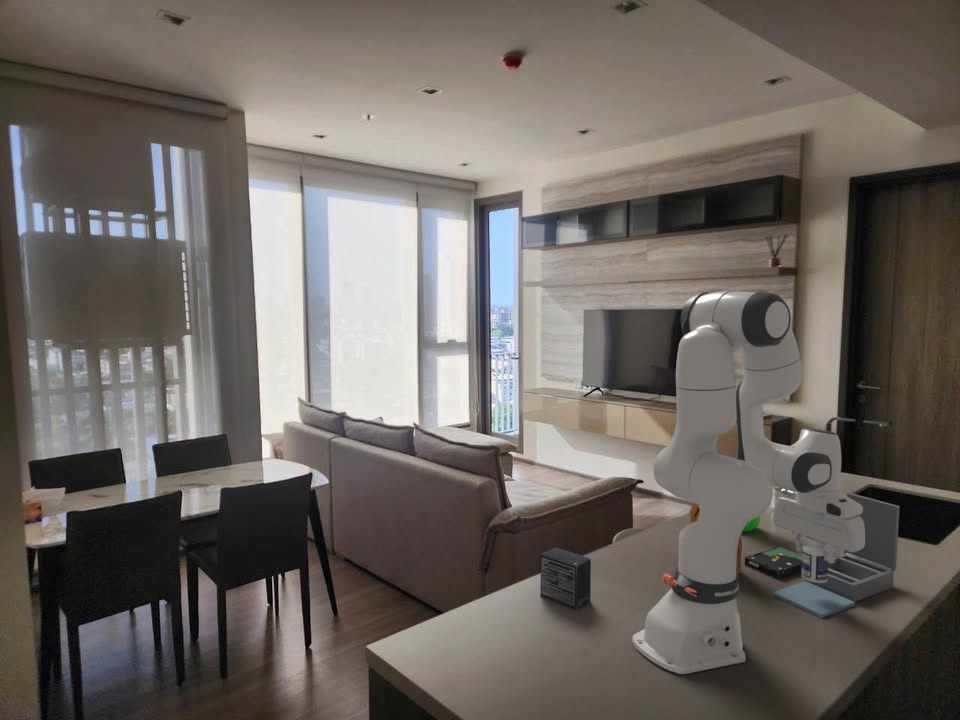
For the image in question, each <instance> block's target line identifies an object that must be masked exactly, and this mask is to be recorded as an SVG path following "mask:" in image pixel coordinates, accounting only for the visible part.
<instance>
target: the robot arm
mask: <svg viewBox="0 0 960 720" xmlns="http://www.w3.org/2000/svg"><path fill="white" fill-rule="evenodd" d="M791 318H792V317H791V311H790V308H789V306H788V304H787V303H786V301H785V300H784V299H783V298H782V297H781V296H780V295H778V294H776V293H774V292H773V293H772V292H768V291H757V292H754V291H741V290H740V291H737V290H734V289H733V290H723V291H721V290H720V291H715V292H707V291H706V292H702V293H701V292H700V293H698V294H695V295H692V296H691V297H689V298H688V299H687V300H686V302H685V304H684V305H683V307H682V310H681V314H680V327H681V331H682V335H683V336H682V338H680V341H679V344H678V348H677V356H676V368H675V388H676V389H675V392H676V396H675V397H676V421H675V423H676V424H675V428H674V433H673V435H672V438H671V441H669V443H668V445H667V446H666V447H664V448H663V449H661V451H660V452H659V453H658V454H657V456H656V457H655V460H654V462H653V477H654V480H655V482H656V483H657V484H658V485H659V487H661V488H663V489H664V490H665V491H667V492H668V493H670V494H672V495H673V496H674V497H676V498H678V499H679V498H680V499H682V500H684V501H688V502H690V503H692V504H693V503H695V504H698V505H699V508H700V513H699V517H698V520H697V521H696V522H693V523H691V524H690V523H689V524H687V525H686V526H684V527H683V528H682V530H681V531H680V533H679V536H678V566H677V567H676V569H675V572H674V575H673V576H671V574H669V573H664V574H663V576H662V577H661V580H662V583H663V584H665V585H667V586H669V587H670V589H669V590H668V591H667V592H666V593H665V595H663V597H662V598H661V599H660V600H659V601H658V602H657V603H656V604H655V605H654V606H653V607H652V608H651V609H650V610H649V611H648V613H647V615H646V618H645V623H644V628H643V629H642V630H640V631H638V632H636V633H634V634H633V635H632V638H631V639H632V640H631V641H632V644H633V646H634V647H635V648H636V650H638V652H639V653H641V655H643V656H644V657H646V658H647V659H648V660H649V661H651V662H652V663H654V664H655V665H657V666H659V667H661V668H663V669H665V670H667V671H669V672H673V673H675V674H678V675H686V674H691V673H695V672H697V673H698V672H702V671H706V670H710V669H716V668H721V667H726V666H730V665H736V664H741V663H745V662H746V653H745V651H744V650H743V648H744V642H743V639H742V629H741V617H740V613H739V608H738V604H737V597H738V595H739V589H740V584H739V576H738V575H737V574H736V565H737V550H738V543H739V538H740V535H741V536H742V533H743V532H742V531H743V529H744V528H745V526H746V525H747V524H748V523H749V522H750V521H751V520H753V519H755V518H757V517H759V516H760V517H761V516H762V515H763V514H764V513H766V511H767V510H768V508H769V507H770V505H771V503H772V500H773V494H774V493H773V491H774V490H773V487H776V488H780V489H779V490H777V492H775V493H776V494H775V504H774V509H773V514H772V522H773V523H774V525H775V526H776V527H779V528H782V529H784V530H788V531H790V532H791V537H792V539H793V540H794V543H795V545H796V546H795V549H796V551H797V552H798V553H802V547H803V545H805V544H806V543H805V542H804V540H803V536H804V537H806V536H807V537H809V538H812V539H815V540H818V541H821V542H824V543H826V544H827V545H828V550H830V551H829V553H827V554H824V561H825V562H828V563H830V564H832V563H834V562H835V557H836V556H837V555H838V553H839V552H841V551H840V550H843V551H845V550H846V551H849V552H857V551H860V550H861V549H863V548H864V546H865V526H864V522H863V520H862V518H861V517H860V516H859V515H860V514H862V512H863V507H862V506H861V505H860V504H859V503H857V502H855V501H854V500H852V499H850V498H849V497H847V494H845V493H843V492H841V485H840V480H839V479H840V478H839V477H840V473H841V471H842V450H841V449H842V447H841V440H840V438H839V435H838V434H837V433H836V432H833V431H830V430H825V429H818V428H812V427H804V428H802V429H801V430H800V434H799V439H798V440H797V441H796V442H794V443H793V444H791V445H787V444H781V443H777V442H773V441H771V440H770V439H768V437H766V435H765V428H764V406H765V405H770V404H774V403H777V402H780V401H781V400H784V399H786V398H788V397H789V396H791V395H792V394H794V393H795V392H796V391H797V390H798V389H799V386H800V385H801V383H802V381H803V366H802V365H803V364H802V361H801V357H800V356H801V355H800V351H799V348H798V347H799V346H798V343H797V340H796V337H795V334H794V332H793V329H792V326H791V320H792V319H791ZM736 347H738V348H739V351H740V356H741V357H740V358H741V362H742V363H741V364H742V367H743V369H742V370H743V379H742V380H741V381H740V382H739V383H738V385H737V388H736V374H735V373H736V372H735V365H734V364H735V363H734V358H733V354H734V350H735V349H736ZM736 424H737V425H736ZM735 425H736V427H737V439H738V440H737V442H738V443H737V444H738V445H737V446H738V447H737V453H736V458H735V457H732V456H728V455H724V454H719V453H718V451H717V444H718V441H719V437H721V436H723V435H725V434H726V433H727V434H728V432H730V431H731V430H732V429H733V428H734V426H735ZM826 544H825V545H826Z"/></svg>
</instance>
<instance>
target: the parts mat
mask: <svg viewBox="0 0 960 720" xmlns="http://www.w3.org/2000/svg"><path fill="white" fill-rule="evenodd" d="M772 596H774V597H775V598H778V599H780V600H782V601H784V602H787V603H789V604H791V605H793V606H795V607H797V608H799V609H801V610H803V611H805V612H808V613H810V614H812V615H814V616H816V617H819V618H820V619H822V618H826V617H829V616H831V615H833V614H836V613H839V612H841V611H844V610H846V609H850V608H852V607H854V606H855V604H856V602H854V601H851V600H849V599H847V598H844V597H842V596H839V595H837V594H835V593H832V592H830V591H828V590H825V589H823V588H821V587H818V586H816V585H813V584H811V583H809V582H806V581H805V582H804V581H802V582H799V583H796V584H793V585H790V586H787V587H784V588H781V589H778V590H776V591H773V592H772Z"/></svg>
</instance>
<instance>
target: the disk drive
mask: <svg viewBox="0 0 960 720" xmlns="http://www.w3.org/2000/svg"><path fill="white" fill-rule="evenodd" d="M744 566H745V567H749V568H750V567H751V568H750V569H753V570H755V571H757V570H758V572H760V573H763V574H764V573H765V574H764V575H767V576H769V577H771V576H772V578H774V579H776V580H779V581H780V580H782V579H786V578H787V577H791V576H794V575H796V574H799V573H802V553H800V552H794V551H791V550H788V549H786V548H785V547H775V548H771V549H769V550H768V549H767V550H764V551H761V552H757V553H754V554H751V555H748V556H747V555H746V556H745V557H744Z"/></svg>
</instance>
